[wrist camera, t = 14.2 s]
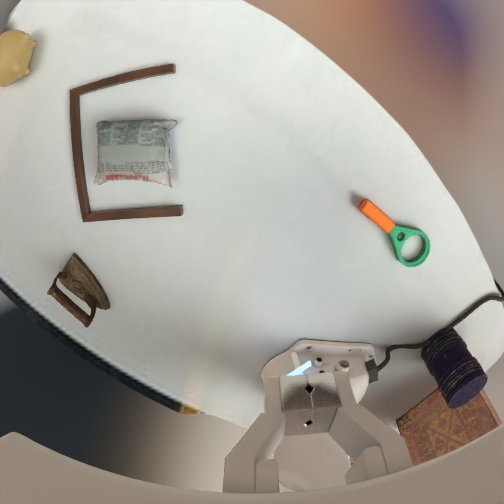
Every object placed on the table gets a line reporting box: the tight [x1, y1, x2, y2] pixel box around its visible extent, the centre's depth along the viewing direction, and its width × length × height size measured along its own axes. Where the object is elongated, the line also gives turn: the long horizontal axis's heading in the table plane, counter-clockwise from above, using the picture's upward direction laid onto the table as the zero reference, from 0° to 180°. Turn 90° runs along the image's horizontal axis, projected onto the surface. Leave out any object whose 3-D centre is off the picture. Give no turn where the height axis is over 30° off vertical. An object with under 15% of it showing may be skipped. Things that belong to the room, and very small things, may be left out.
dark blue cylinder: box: [421, 328, 488, 409], centre depth 41 cm, size 10×10×15 cm
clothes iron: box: [47, 253, 110, 328], centre depth 39 cm, size 7×11×10 cm, turn 42°
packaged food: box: [94, 120, 177, 188], centre depth 31 cm, size 9×12×5 cm
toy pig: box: [0, 30, 37, 87], centre depth 21 cm, size 10×12×11 cm
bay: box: [70, 64, 183, 222], centre depth 32 cm, size 16×20×1 cm
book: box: [396, 388, 502, 466], centre depth 44 cm, size 25×9×30 cm, turn 147°
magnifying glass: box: [359, 199, 430, 267], centre depth 37 cm, size 15×6×2 cm, turn 57°
